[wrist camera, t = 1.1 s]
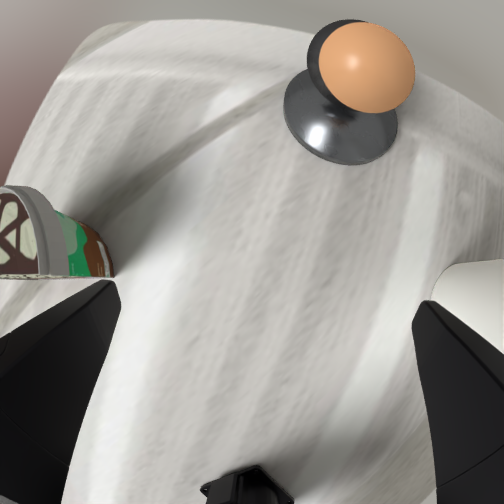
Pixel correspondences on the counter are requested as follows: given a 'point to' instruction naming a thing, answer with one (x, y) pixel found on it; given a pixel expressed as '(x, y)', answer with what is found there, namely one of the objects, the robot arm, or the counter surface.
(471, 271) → the cylindrical container
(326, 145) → the button post
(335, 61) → the button cap
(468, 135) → the counter surface
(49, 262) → the food container
